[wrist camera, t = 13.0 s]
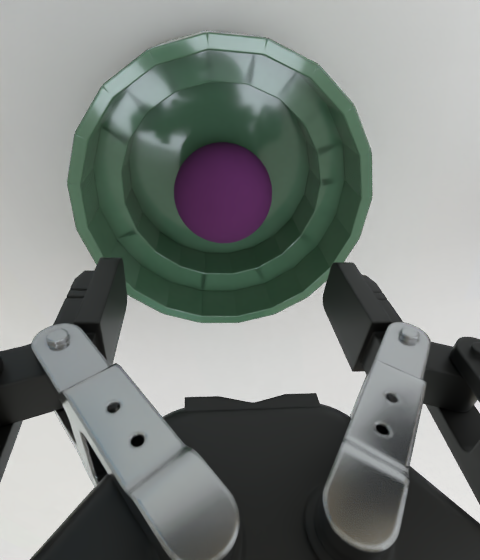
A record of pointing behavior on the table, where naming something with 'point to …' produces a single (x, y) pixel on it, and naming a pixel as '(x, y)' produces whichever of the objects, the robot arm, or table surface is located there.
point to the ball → (223, 192)
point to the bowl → (211, 129)
